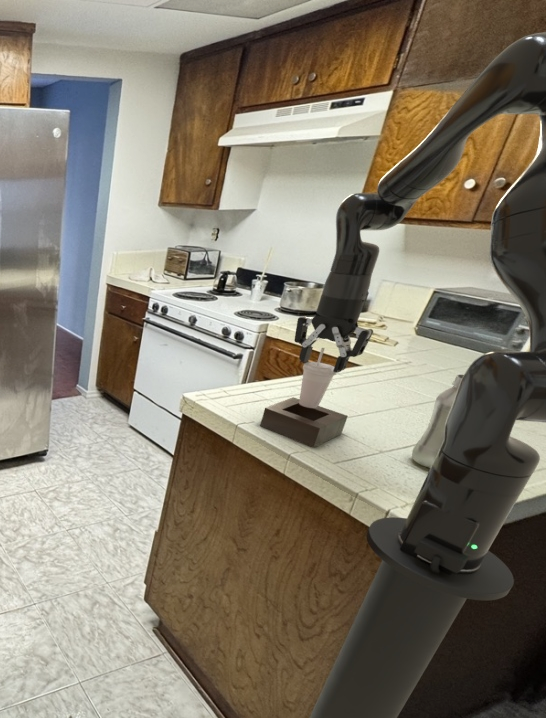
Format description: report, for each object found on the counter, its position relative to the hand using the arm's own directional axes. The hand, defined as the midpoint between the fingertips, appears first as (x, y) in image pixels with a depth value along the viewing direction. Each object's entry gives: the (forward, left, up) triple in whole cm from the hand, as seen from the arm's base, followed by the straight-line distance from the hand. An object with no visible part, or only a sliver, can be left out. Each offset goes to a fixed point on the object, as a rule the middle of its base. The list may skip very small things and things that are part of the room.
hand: (320, 366), depth 107 cm
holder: (0, 0, -17) cm, 17 cm away
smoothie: (0, 0, -10) cm, 10 cm away
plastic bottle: (+7, -22, -17) cm, 28 cm away
